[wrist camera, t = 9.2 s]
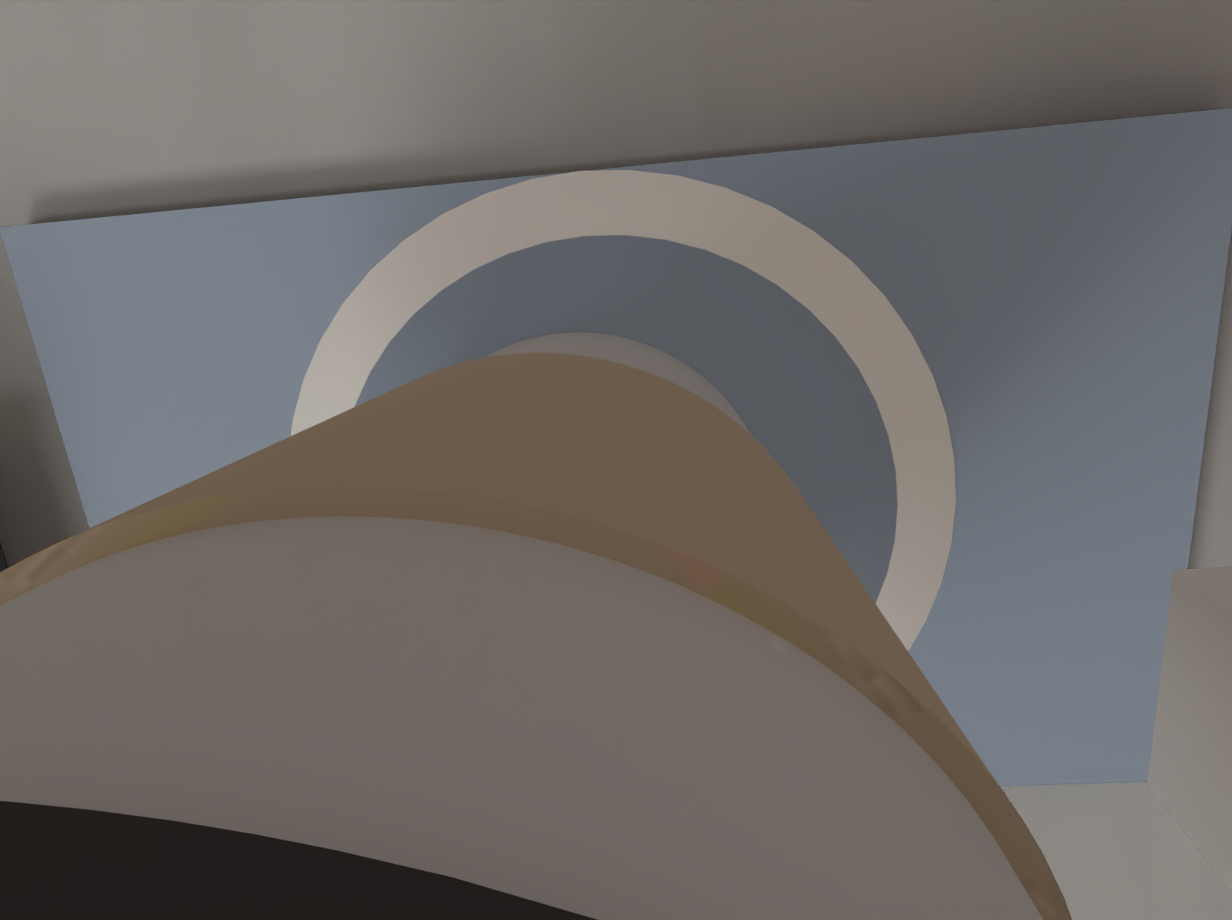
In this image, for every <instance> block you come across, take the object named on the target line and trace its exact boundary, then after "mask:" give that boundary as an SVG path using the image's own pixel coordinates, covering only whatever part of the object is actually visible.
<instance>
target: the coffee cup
mask: <svg viewBox="0 0 1232 920" xmlns="http://www.w3.org/2000/svg"><path fill="white" fill-rule="evenodd" d="M0 920H1072V919H1071V916H1070V913H1069V911H1068V908H1067V905H1066V902H1065V899H1064V897H1063V895H1062V893H1061V891H1060V889H1059V886H1058V884H1057V882H1056V880H1055V878H1054V876H1053V874H1052V872H1051V870H1050V867H1049V865H1048V863H1047V861H1046V859H1045V857H1044V855H1043V853H1042V852H1041V850H1040V848H1039V846H1038V845H1037V843H1036V841H1035V840H1034V838H1033V836H1032V835H1031V833H1030V831H1029V829H1028V828H1027V826H1026V824H1025V823H1024V821H1023V820H1022V818H1021V817H1020V815H1019V814H1018V813H1017V811H1016V810H1015V808H1014V807H1013V805H1012V804H1011V802H1010V801H1009V799H1008V798H1007V796H1006V795H1005V793H1004V792H1003V790H1002V789H1001V788H1000V786H999V785H998V783H997V782H996V780H995V779H994V777H993V776H992V774H991V773H990V771H989V770H988V768H987V767H986V765H985V764H984V763H983V761H982V760H981V758H980V757H979V755H978V754H977V752H976V751H975V749H974V748H973V746H972V745H971V743H970V742H969V740H968V739H967V738H966V736H965V735H964V733H963V732H962V730H961V729H960V727H959V726H958V724H957V723H956V721H955V720H954V718H953V717H952V716H951V714H950V713H949V711H948V710H947V708H946V707H945V705H944V704H943V702H942V701H941V699H940V698H939V696H938V695H937V693H936V692H935V691H934V689H933V688H932V686H931V685H930V683H929V682H928V680H927V679H926V677H925V676H924V674H923V673H922V671H921V670H920V668H919V667H918V666H917V664H916V663H915V661H914V660H913V658H912V657H911V655H910V654H909V652H908V651H907V649H906V648H905V646H904V645H903V643H902V642H901V641H900V639H899V638H898V636H897V635H896V633H895V632H894V630H893V629H892V627H891V626H890V624H889V623H888V621H887V620H886V618H885V617H884V616H883V614H882V613H881V611H880V610H879V608H878V607H877V605H876V604H875V602H874V601H873V599H872V598H871V596H870V595H869V594H868V592H867V591H866V589H865V588H864V586H863V585H862V583H861V582H860V580H859V579H858V577H857V576H856V574H855V573H854V571H853V570H852V569H851V567H850V566H849V564H848V563H847V561H846V560H845V558H844V557H843V555H842V554H841V552H840V551H839V549H838V548H837V546H836V545H835V544H834V542H833V541H832V539H831V538H830V536H829V535H828V533H827V532H826V530H825V529H824V527H823V526H822V524H821V523H820V521H819V520H818V519H817V517H816V516H815V514H814V513H813V511H812V510H811V508H810V507H809V505H808V504H807V502H806V501H805V499H804V498H803V496H802V495H801V494H800V492H799V491H798V489H797V488H796V486H795V485H794V483H793V482H792V480H791V479H790V478H789V477H788V475H787V474H786V473H785V471H784V470H783V469H782V467H781V466H780V465H779V464H778V462H777V461H776V460H775V459H774V458H773V457H772V456H771V455H770V454H769V452H768V451H767V450H766V449H765V448H764V447H763V446H762V445H761V444H760V443H759V442H758V441H757V440H756V439H755V438H754V437H753V436H752V435H751V434H750V433H749V431H748V429H747V428H746V426H745V424H744V423H743V421H742V420H741V418H740V417H739V415H738V414H737V412H736V411H735V410H734V408H733V407H732V406H731V405H730V403H729V402H728V401H727V400H726V399H725V397H724V396H723V395H722V394H721V393H720V392H719V391H718V390H717V389H716V388H715V387H714V386H713V385H712V384H711V383H710V382H708V381H707V380H706V379H705V378H704V377H703V376H701V375H700V374H699V373H698V372H696V371H695V370H693V369H692V368H691V367H689V366H688V365H686V364H685V363H683V362H681V361H680V360H678V359H677V358H675V357H673V356H671V355H669V354H667V353H665V352H663V351H661V350H659V349H656V348H654V347H652V346H649V345H647V344H644V343H641V342H638V341H635V340H631V339H627V338H623V337H619V336H614V335H607V334H601V333H587V332H569V333H558V334H550V335H544V336H539V337H535V338H531V339H527V340H524V341H520V342H517V343H515V344H512V345H509V346H507V347H504V348H502V349H500V350H498V351H496V352H494V353H492V354H490V355H488V356H486V357H484V358H479V359H474V360H470V361H466V362H462V363H458V364H455V365H451V366H448V367H445V368H442V369H439V370H436V371H434V372H431V373H429V374H426V375H424V376H421V377H419V378H417V379H415V380H413V381H410V382H408V383H406V384H404V385H402V386H399V387H397V388H395V389H393V390H391V391H388V392H386V393H384V394H382V395H380V396H378V397H375V398H373V399H371V400H369V401H367V402H364V403H362V404H360V405H358V406H356V407H354V408H351V409H349V410H347V411H345V412H343V413H340V414H338V415H336V416H334V417H332V418H329V419H327V420H325V421H323V422H321V423H319V424H316V425H314V426H312V427H310V428H308V429H305V430H303V431H301V432H299V433H297V434H294V435H292V436H290V437H288V438H286V439H284V440H281V441H279V442H277V443H275V444H273V445H270V446H268V447H266V448H264V449H262V450H260V451H257V452H255V453H253V454H251V455H249V456H246V457H244V458H242V459H240V460H238V461H235V462H233V463H231V464H229V465H227V466H225V467H222V468H220V469H218V470H216V471H214V472H211V473H209V474H207V475H205V476H203V477H201V478H198V479H196V480H194V481H192V482H190V483H187V484H185V485H183V486H181V487H179V488H176V489H174V490H172V491H170V492H168V493H166V494H163V495H161V496H159V497H157V498H155V499H152V500H150V501H148V502H146V503H144V504H142V505H139V506H137V507H135V508H133V509H131V510H128V511H126V512H124V513H122V514H120V515H117V516H115V517H113V518H111V519H109V520H107V521H104V522H102V523H100V524H98V525H96V526H93V527H91V528H89V529H87V530H85V531H82V532H80V533H78V534H76V535H74V536H72V537H69V538H67V539H65V540H63V541H61V542H58V543H56V544H54V545H52V546H50V547H48V548H46V549H44V550H41V551H39V552H37V553H35V554H33V555H31V556H29V557H27V558H25V559H23V560H22V561H20V562H18V563H16V564H14V565H13V566H11V567H9V568H7V569H5V570H3V571H2V572H0Z"/></svg>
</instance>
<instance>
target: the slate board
mask: <svg viewBox="0 0 1232 920" xmlns="http://www.w3.org/2000/svg"><path fill="white" fill-rule="evenodd" d="M1231 230H1232V108H1226V109H1216V110H1206V111H1195V112H1185V113H1175V114H1164V115H1154V116H1144V117H1133V118H1123V119H1113V120H1102V121H1092V122H1082V123H1071V124H1061V125H1051V126H1040V127H1030V128H1020V129H1009V130H999V131H989V132H978V133H968V134H958V135H947V136H937V137H927V138H916V139H906V140H896V141H885V142H875V143H865V144H854V145H844V146H834V147H823V148H813V149H803V150H792V151H782V152H772V153H761V154H751V155H741V156H730V157H720V158H710V159H699V160H689V161H679V162H668V163H658V164H648V165H637V166H627V167H617V168H606V169H596V170H586V171H575V172H565V173H555V174H544V175H534V176H524V177H513V178H503V179H493V180H482V181H472V182H462V183H451V184H441V185H431V186H420V187H410V188H400V189H389V190H379V191H369V192H358V193H348V194H338V195H327V196H317V197H307V198H296V199H286V200H276V201H265V202H255V203H245V204H234V205H224V206H214V207H203V208H193V209H183V210H172V211H162V212H152V213H141V214H131V215H121V216H110V217H100V218H90V219H79V220H69V221H59V222H48V223H38V224H28V225H17V226H7V227H0V234H1V237H2V241H3V244H4V247H5V251H6V254H7V257H8V261H9V264H10V267H11V271H12V274H13V277H14V281H15V284H16V287H17V290H18V294H19V297H20V300H21V304H22V307H23V310H24V314H25V317H26V320H27V324H28V327H29V330H30V334H31V337H32V340H33V344H34V347H35V350H36V354H37V357H38V360H39V363H40V367H41V370H42V373H43V377H44V380H45V383H46V387H47V390H48V393H49V397H50V400H51V403H52V407H53V410H54V413H55V417H56V420H57V423H58V426H59V430H60V433H61V436H62V440H63V443H64V446H65V450H66V453H67V456H68V460H69V463H70V466H71V470H72V473H73V476H74V480H75V483H76V486H77V490H78V493H79V496H80V499H81V503H82V506H83V509H84V513H85V516H86V519H87V523H88V526H89V528H91V527H93V526H96V525H98V524H100V523H102V522H104V521H107V520H109V519H111V518H113V517H115V516H117V515H120V514H122V513H124V512H126V511H128V510H131V509H133V508H135V507H137V506H139V505H142V504H144V503H146V502H148V501H150V500H152V499H155V498H157V497H159V496H161V495H163V494H166V493H168V492H170V491H172V490H174V489H176V488H179V487H181V486H183V485H185V484H187V483H190V482H192V481H194V480H196V479H198V478H201V477H203V476H205V475H207V474H209V473H211V472H214V471H216V470H218V469H220V468H222V467H225V466H227V465H229V464H231V463H233V462H235V461H238V460H240V459H242V458H244V457H246V456H249V455H251V454H253V453H255V452H257V451H260V450H262V449H264V448H266V447H268V446H270V445H273V444H275V443H277V442H279V441H281V440H284V439H286V438H288V437H290V436H292V435H294V434H297V433H299V432H301V431H303V430H305V429H308V428H310V427H312V426H314V425H316V424H319V423H321V422H323V421H325V420H327V419H329V418H332V417H334V416H336V415H338V414H340V413H343V412H345V411H347V410H349V409H351V408H354V407H356V406H358V405H360V404H362V403H364V402H367V401H369V400H371V399H373V398H375V397H378V396H380V395H382V394H384V393H386V392H388V391H391V390H393V389H395V388H397V387H399V386H402V385H404V384H406V383H408V382H410V381H413V380H415V379H417V378H419V377H421V376H424V375H426V374H429V373H431V372H434V371H436V370H439V369H442V368H445V367H448V366H451V365H455V364H458V363H462V362H466V361H470V360H474V359H479V358H484V357H486V356H488V355H490V354H492V353H494V352H496V351H498V350H500V349H502V348H504V347H507V346H509V345H512V344H515V343H517V342H520V341H524V340H527V339H531V338H535V337H539V336H544V335H550V334H558V333H569V332H587V333H601V334H607V335H614V336H619V337H623V338H627V339H631V340H635V341H638V342H641V343H644V344H647V345H649V346H652V347H654V348H656V349H659V350H661V351H663V352H665V353H667V354H669V355H671V356H673V357H675V358H677V359H678V360H680V361H681V362H683V363H685V364H686V365H688V366H689V367H691V368H692V369H693V370H695V371H696V372H698V373H699V374H700V375H701V376H703V377H704V378H705V379H706V380H707V381H708V382H710V383H711V384H712V385H713V386H714V387H715V388H716V389H717V390H718V391H719V392H720V393H721V394H722V395H723V396H724V397H725V399H726V400H727V401H728V402H729V403H730V405H731V406H732V407H733V408H734V410H735V411H736V412H737V414H738V415H739V417H740V418H741V420H742V421H743V423H744V424H745V426H746V428H747V429H748V431H749V433H750V434H751V435H752V436H753V437H754V438H755V439H756V440H757V441H758V442H759V443H760V444H761V445H762V446H763V447H764V448H765V449H766V450H767V451H768V452H769V454H770V455H771V456H772V457H773V458H774V459H775V460H776V461H777V462H778V464H779V465H780V466H781V467H782V469H783V470H784V471H785V473H786V474H787V475H788V477H789V478H790V479H791V480H792V482H793V483H794V485H795V486H796V488H797V489H798V491H799V492H800V494H801V495H802V496H803V498H804V499H805V501H806V502H807V504H808V505H809V507H810V508H811V510H812V511H813V513H814V514H815V516H816V517H817V519H818V520H819V521H820V523H821V524H822V526H823V527H824V529H825V530H826V532H827V533H828V535H829V536H830V538H831V539H832V541H833V542H834V544H835V545H836V546H837V548H838V549H839V551H840V552H841V554H842V555H843V557H844V558H845V560H846V561H847V563H848V564H849V566H850V567H851V569H852V570H853V571H854V573H855V574H856V576H857V577H858V579H859V580H860V582H861V583H862V585H863V586H864V588H865V589H866V591H867V592H868V594H869V595H870V596H871V598H872V599H873V601H874V602H875V604H876V605H877V607H878V608H879V610H880V611H881V613H882V614H883V616H884V617H885V618H886V620H887V621H888V623H889V624H890V626H891V627H892V629H893V630H894V632H895V633H896V635H897V636H898V638H899V639H900V641H901V642H902V643H903V645H904V646H905V648H906V649H907V651H908V652H909V654H910V655H911V657H912V658H913V660H914V661H915V663H916V664H917V666H918V667H919V668H920V670H921V671H922V673H923V674H924V676H925V677H926V679H927V680H928V682H929V683H930V685H931V686H932V688H933V689H934V691H935V692H936V693H937V695H938V696H939V698H940V699H941V701H942V702H943V704H944V705H945V707H946V708H947V710H948V711H949V713H950V714H951V716H952V717H953V718H954V720H955V721H956V723H957V724H958V726H959V727H960V729H961V730H962V732H963V733H964V735H965V736H966V738H967V739H968V740H969V742H970V743H971V745H972V746H973V748H974V749H975V751H976V752H977V754H978V755H979V757H980V758H981V760H982V761H983V763H984V764H985V765H986V767H987V768H988V770H989V771H990V773H991V774H992V776H993V777H994V779H995V780H996V782H997V783H998V785H999V786H1017V785H1055V784H1093V783H1130V782H1148V774H1149V766H1150V757H1151V749H1152V741H1153V733H1154V725H1155V717H1156V709H1157V701H1158V692H1159V684H1160V676H1161V668H1162V660H1163V652H1164V644H1165V636H1166V628H1167V619H1168V611H1169V603H1170V595H1171V587H1172V579H1173V571H1174V570H1177V569H1188V564H1189V556H1190V548H1191V541H1192V533H1193V525H1194V517H1195V510H1196V502H1197V494H1198V486H1199V478H1200V471H1201V463H1202V455H1203V447H1204V440H1205V432H1206V424H1207V416H1208V409H1209V401H1210V393H1211V385H1212V378H1213V370H1214V362H1215V354H1216V347H1217V339H1218V331H1219V323H1220V315H1221V308H1222V300H1223V292H1224V284H1225V277H1226V269H1227V261H1228V253H1229V246H1230V238H1231Z"/></svg>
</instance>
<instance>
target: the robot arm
mask: <svg viewBox="0 0 1232 920" xmlns="http://www.w3.org/2000/svg"><path fill="white" fill-rule="evenodd" d="M1147 785H1148V787H1149V788H1150V789H1151V790H1152V792H1153V793H1154V794H1155V795H1156V797H1157V798H1158V799H1159V800H1160V802H1161V803H1162V804H1163V806H1164V807H1165V808H1166V809H1167V811H1168V812H1169V813H1170V814H1171V816H1172V817H1173V818H1174V819H1175V821H1176V822H1177V823H1178V824H1179V826H1180V827H1181V828H1182V830H1183V831H1184V832H1185V833H1186V835H1187V836H1188V837H1189V838H1190V840H1191V841H1192V842H1193V843H1194V845H1195V846H1196V847H1197V849H1198V850H1199V851H1200V852H1201V854H1202V855H1203V856H1204V857H1205V859H1206V860H1207V861H1208V862H1209V864H1210V865H1211V866H1212V867H1213V869H1214V870H1215V871H1216V873H1217V874H1218V875H1219V876H1220V878H1221V879H1222V880H1223V881H1224V883H1225V884H1226V885H1227V886H1228V888H1229V889H1230V890H1231V892H1232V567H1218V568H1198V569H1177V570H1174V571H1173V579H1172V587H1171V595H1170V603H1169V611H1168V619H1167V628H1166V636H1165V644H1164V652H1163V660H1162V668H1161V676H1160V684H1159V692H1158V701H1157V709H1156V717H1155V725H1154V733H1153V741H1152V749H1151V757H1150V766H1149V774H1148V782H1147Z"/></svg>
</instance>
